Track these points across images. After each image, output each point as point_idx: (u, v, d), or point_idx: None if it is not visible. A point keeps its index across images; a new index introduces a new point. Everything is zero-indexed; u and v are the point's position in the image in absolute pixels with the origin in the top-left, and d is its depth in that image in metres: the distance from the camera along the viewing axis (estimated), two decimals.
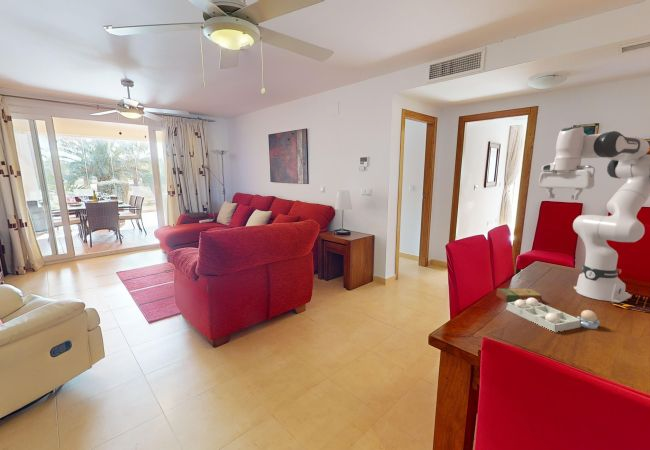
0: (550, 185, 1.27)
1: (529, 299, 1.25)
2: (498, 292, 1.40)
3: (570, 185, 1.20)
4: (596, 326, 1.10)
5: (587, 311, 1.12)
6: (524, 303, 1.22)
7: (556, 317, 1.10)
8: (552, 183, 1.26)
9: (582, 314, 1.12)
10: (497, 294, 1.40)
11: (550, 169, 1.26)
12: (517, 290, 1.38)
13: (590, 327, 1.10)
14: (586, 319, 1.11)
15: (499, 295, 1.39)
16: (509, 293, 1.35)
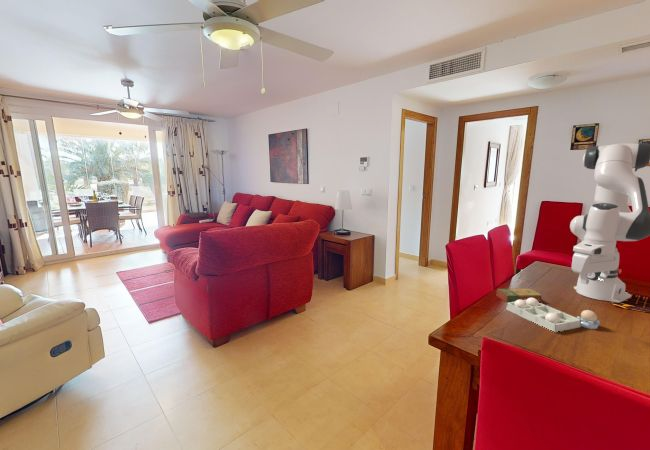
0: (593, 271, 1.06)
1: (529, 299, 1.25)
2: (498, 292, 1.39)
3: (607, 268, 1.08)
4: (596, 326, 1.10)
5: (587, 311, 1.12)
6: (524, 303, 1.22)
7: (556, 317, 1.10)
8: (594, 267, 1.06)
9: (582, 314, 1.12)
10: (497, 294, 1.40)
11: (601, 253, 1.04)
12: (517, 290, 1.38)
13: (590, 327, 1.10)
14: (586, 319, 1.11)
15: (499, 295, 1.38)
16: (509, 293, 1.35)
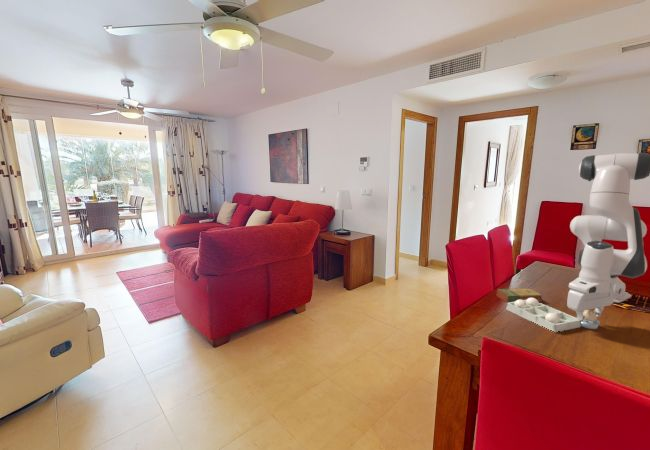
0: (587, 308, 1.08)
1: (529, 299, 1.25)
2: (499, 293, 1.39)
3: (602, 304, 1.11)
4: (596, 326, 1.10)
5: (587, 311, 1.12)
6: (524, 303, 1.22)
7: (556, 317, 1.10)
8: (589, 304, 1.08)
9: None
10: (497, 295, 1.40)
11: (596, 291, 1.06)
12: (517, 290, 1.38)
13: (590, 327, 1.10)
14: (586, 319, 1.11)
15: (500, 296, 1.38)
16: (510, 293, 1.34)
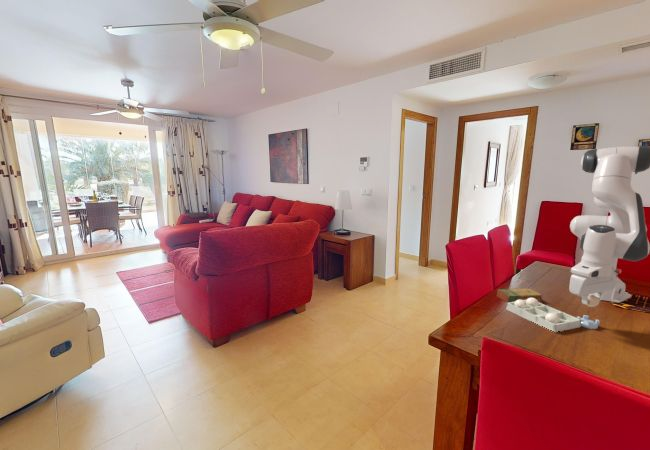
0: (590, 292, 1.08)
1: (529, 299, 1.25)
2: (499, 293, 1.39)
3: (605, 288, 1.10)
4: (596, 326, 1.10)
5: (589, 295, 1.11)
6: (524, 303, 1.22)
7: (556, 317, 1.10)
8: (592, 289, 1.08)
9: None
10: (498, 295, 1.40)
11: (598, 275, 1.05)
12: (517, 290, 1.38)
13: (590, 327, 1.10)
14: (588, 304, 1.11)
15: (500, 296, 1.38)
16: (510, 294, 1.34)
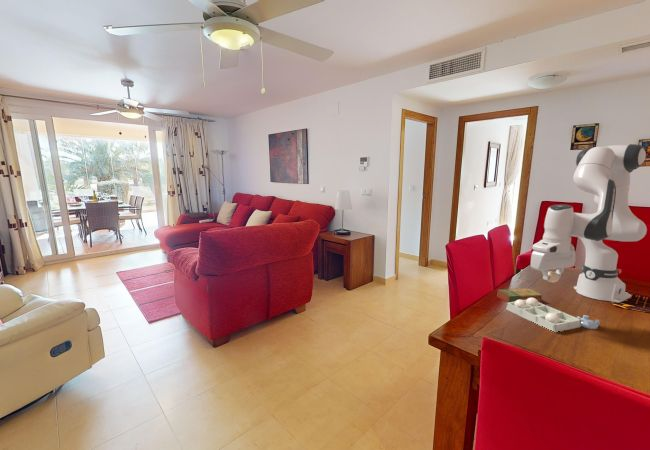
0: (549, 267, 1.13)
1: (529, 299, 1.25)
2: (499, 293, 1.38)
3: (564, 265, 1.16)
4: (596, 326, 1.10)
5: (550, 272, 1.17)
6: (524, 303, 1.22)
7: (556, 317, 1.10)
8: (551, 264, 1.14)
9: None
10: (498, 295, 1.39)
11: (557, 251, 1.11)
12: (517, 290, 1.38)
13: (590, 327, 1.10)
14: (549, 279, 1.16)
15: (500, 296, 1.38)
16: (511, 294, 1.34)
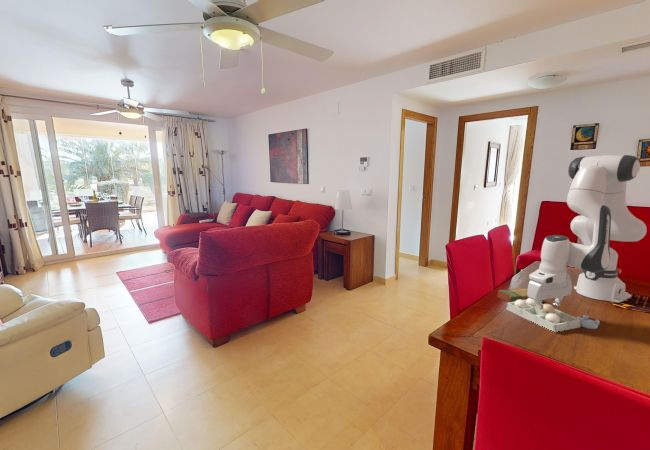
0: (546, 297, 1.16)
1: (529, 299, 1.25)
2: (500, 294, 1.38)
3: (560, 294, 1.18)
4: (596, 326, 1.10)
5: (546, 305, 1.19)
6: (524, 303, 1.22)
7: (556, 317, 1.10)
8: (548, 294, 1.16)
9: None
10: (499, 296, 1.39)
11: (553, 282, 1.13)
12: (517, 290, 1.37)
13: (590, 327, 1.10)
14: None
15: (501, 297, 1.37)
16: (512, 294, 1.33)
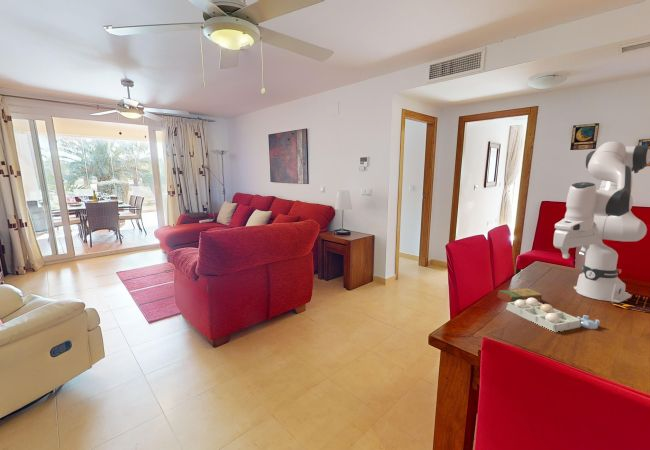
0: (572, 245, 1.14)
1: (529, 299, 1.25)
2: (500, 294, 1.38)
3: (587, 243, 1.17)
4: (596, 326, 1.10)
5: (544, 306, 1.19)
6: (524, 303, 1.22)
7: (556, 317, 1.10)
8: (574, 242, 1.14)
9: (540, 309, 1.20)
10: (499, 296, 1.38)
11: (580, 229, 1.12)
12: (518, 291, 1.37)
13: (590, 327, 1.10)
14: None
15: (502, 297, 1.37)
16: (513, 295, 1.33)
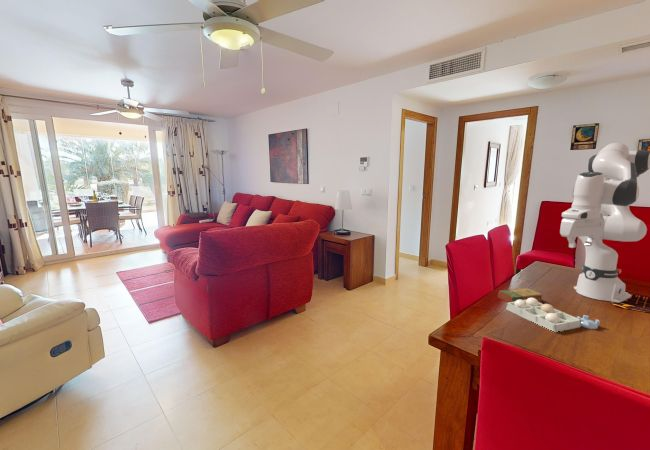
0: (579, 234, 1.14)
1: (529, 299, 1.25)
2: (500, 294, 1.37)
3: (593, 233, 1.16)
4: (596, 326, 1.10)
5: (545, 305, 1.19)
6: (524, 303, 1.22)
7: (556, 317, 1.10)
8: (581, 231, 1.14)
9: (541, 308, 1.20)
10: (499, 296, 1.38)
11: (587, 217, 1.11)
12: (518, 291, 1.37)
13: (590, 327, 1.10)
14: None
15: (502, 297, 1.36)
16: (513, 295, 1.33)
